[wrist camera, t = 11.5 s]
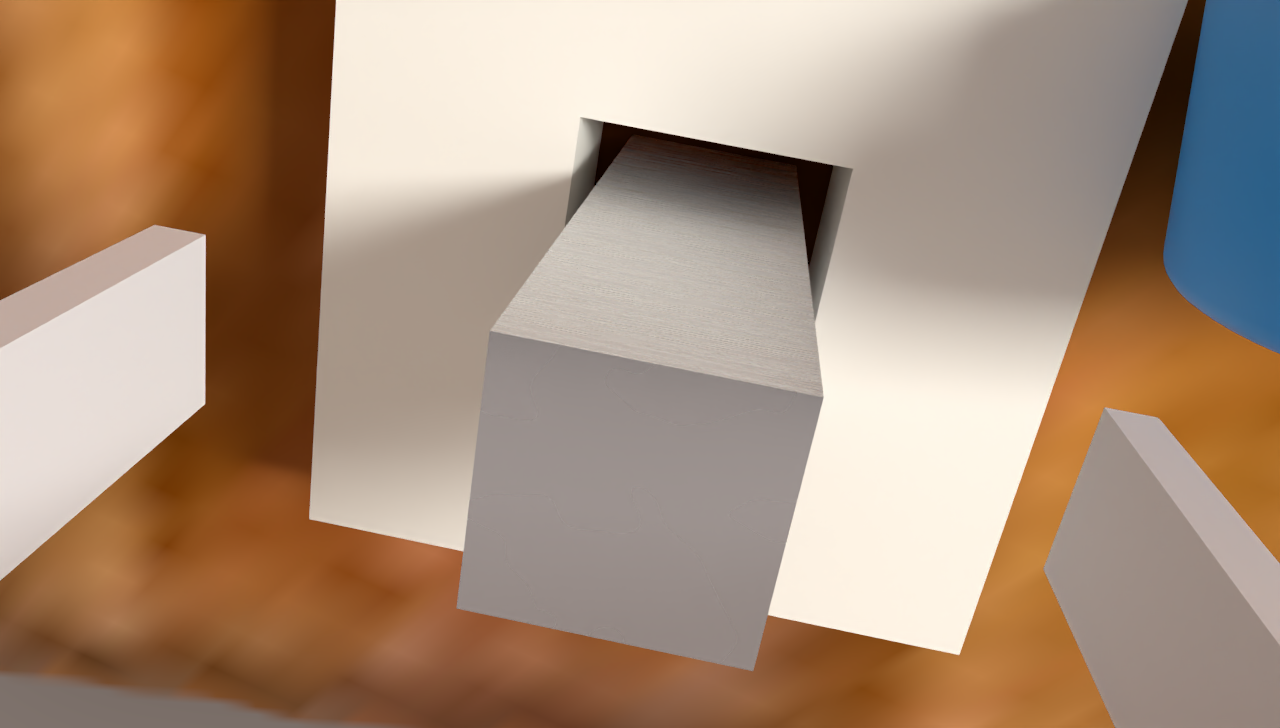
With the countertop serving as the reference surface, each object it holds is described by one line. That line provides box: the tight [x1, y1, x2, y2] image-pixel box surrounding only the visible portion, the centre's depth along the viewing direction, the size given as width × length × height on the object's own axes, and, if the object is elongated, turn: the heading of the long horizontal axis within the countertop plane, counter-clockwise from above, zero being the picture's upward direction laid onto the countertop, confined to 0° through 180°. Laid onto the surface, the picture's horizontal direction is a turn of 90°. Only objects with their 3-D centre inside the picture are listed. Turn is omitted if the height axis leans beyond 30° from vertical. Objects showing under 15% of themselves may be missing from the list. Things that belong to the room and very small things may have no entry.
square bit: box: [457, 135, 824, 671], centre depth 20 cm, size 4×4×14 cm
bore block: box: [309, 0, 1188, 655], centre depth 24 cm, size 16×16×4 cm
